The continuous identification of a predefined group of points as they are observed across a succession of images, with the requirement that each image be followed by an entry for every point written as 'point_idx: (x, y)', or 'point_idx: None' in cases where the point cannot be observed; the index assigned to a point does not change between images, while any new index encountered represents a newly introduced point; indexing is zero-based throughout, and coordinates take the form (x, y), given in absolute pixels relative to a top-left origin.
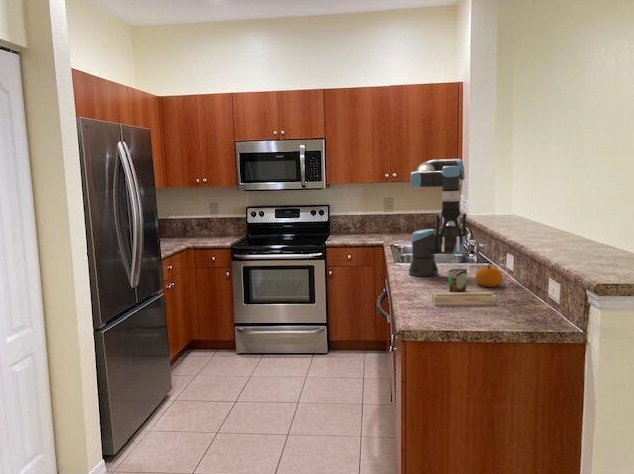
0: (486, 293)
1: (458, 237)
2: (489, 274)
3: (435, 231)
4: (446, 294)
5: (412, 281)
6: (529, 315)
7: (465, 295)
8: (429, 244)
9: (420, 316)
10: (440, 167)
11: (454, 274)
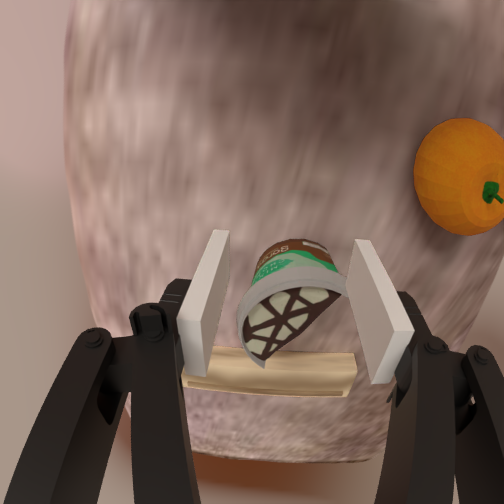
0: (335, 380)
1: (376, 382)
2: (459, 232)
3: (64, 371)
4: (215, 387)
5: (131, 46)
6: (362, 424)
7: (268, 392)
8: None
9: None
10: None
11: (258, 360)
